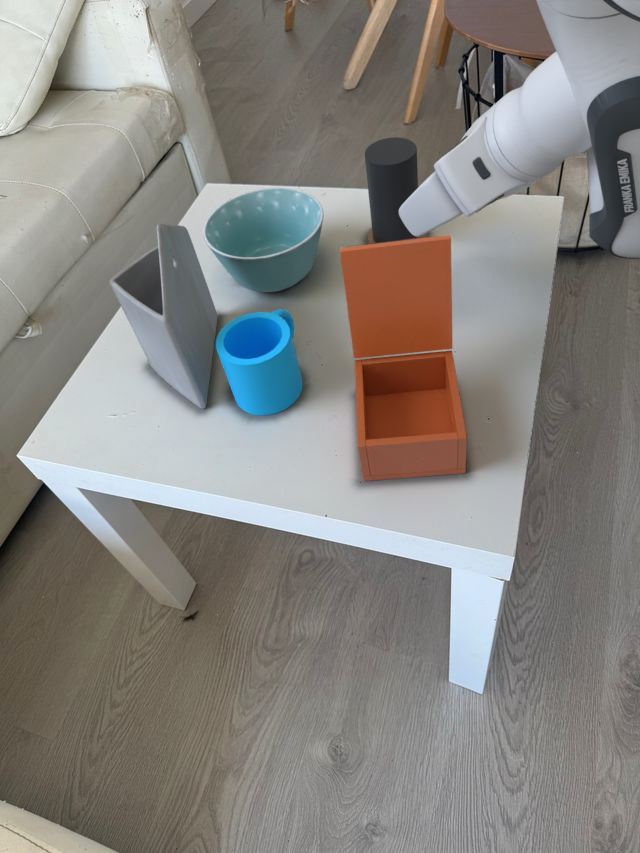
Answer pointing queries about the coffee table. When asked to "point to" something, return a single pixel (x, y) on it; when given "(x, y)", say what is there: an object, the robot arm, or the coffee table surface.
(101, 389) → the coffee table surface
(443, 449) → the orange open box
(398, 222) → the tapered grey cylinder
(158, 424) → the coffee table surface
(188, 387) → the planter
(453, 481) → the coffee table surface
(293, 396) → the mug
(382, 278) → the orange box lid
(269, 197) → the bowl
